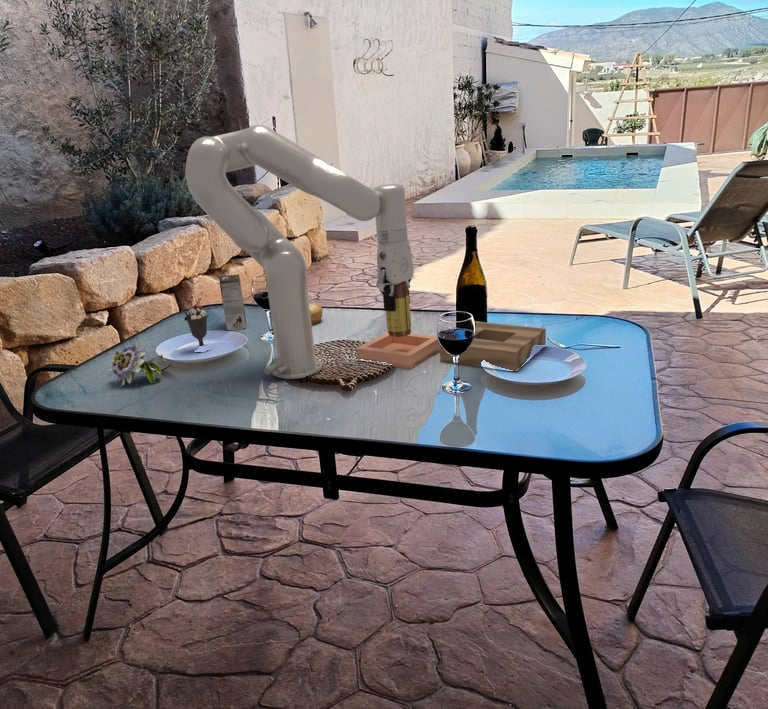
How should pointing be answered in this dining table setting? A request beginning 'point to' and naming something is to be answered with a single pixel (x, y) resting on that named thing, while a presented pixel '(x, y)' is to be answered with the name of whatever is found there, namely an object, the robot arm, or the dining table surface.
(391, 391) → the dining table surface
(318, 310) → the pastry
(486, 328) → the holder block
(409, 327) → the sauce bottle
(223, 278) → the coffee box
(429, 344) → the tray
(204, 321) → the sundae
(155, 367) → the passion flower
